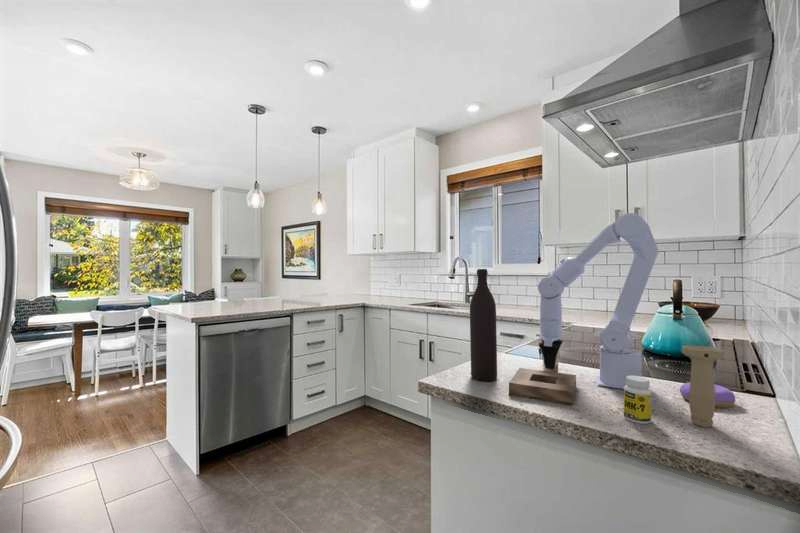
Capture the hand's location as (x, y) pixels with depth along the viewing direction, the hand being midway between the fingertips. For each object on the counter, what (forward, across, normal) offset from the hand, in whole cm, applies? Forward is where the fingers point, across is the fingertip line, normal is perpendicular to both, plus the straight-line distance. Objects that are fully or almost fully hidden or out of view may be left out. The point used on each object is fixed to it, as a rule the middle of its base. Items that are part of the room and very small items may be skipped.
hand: (550, 366), depth 107 cm
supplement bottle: (+2, +25, +19) cm, 31 cm away
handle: (+2, +22, +30) cm, 37 cm away
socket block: (+2, +16, 0) cm, 16 cm away
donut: (+2, +6, +34) cm, 35 cm away
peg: (+2, 0, 0) cm, 2 cm away
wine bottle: (+2, +13, -16) cm, 20 cm away
